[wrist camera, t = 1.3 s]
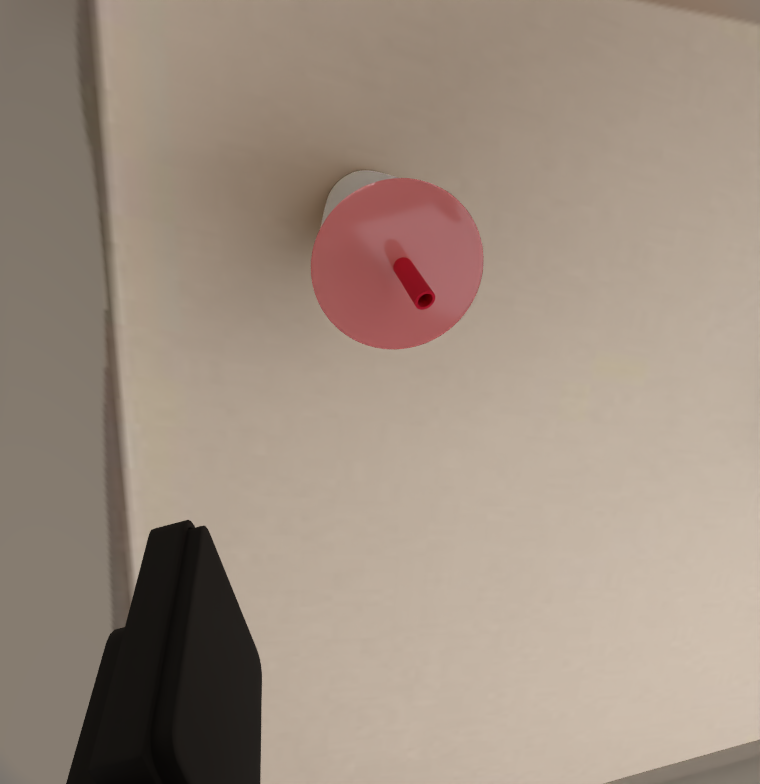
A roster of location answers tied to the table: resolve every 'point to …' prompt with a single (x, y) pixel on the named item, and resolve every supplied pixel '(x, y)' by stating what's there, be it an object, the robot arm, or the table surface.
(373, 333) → the cup
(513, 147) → the table surface
